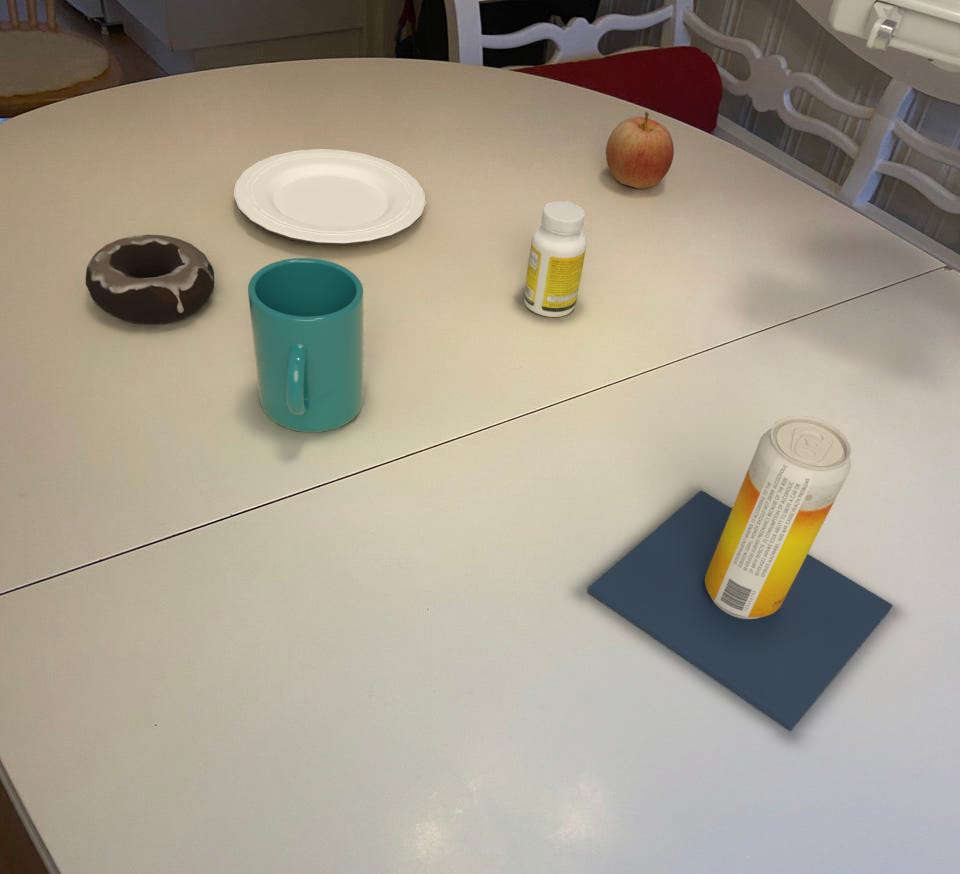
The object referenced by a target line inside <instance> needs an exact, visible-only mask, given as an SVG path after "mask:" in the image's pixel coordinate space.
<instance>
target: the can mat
mask: <svg viewBox="0 0 960 874" xmlns="http://www.w3.org/2000/svg"><path fill="white" fill-rule="evenodd" d="M732 508H733V507H730V506H729V505H727V504H725V503H724V502H722V501H721V500H719V499H717V498H715V497H713V496H712V495H710V494H709V493H707V492H705V491H704V490H701V489H700V491H699V492H698V493H696V494H695V495H694V496H692V497H691V498H690V499H689V500H688V501H687V502H686V503H684V505H682V506H681V507H680V508H679V509H677V510H676V511H675V512H674V513H673V514H672V515H671V516H670V517H668V518H667V519H666V520H665V521H664V522H663V523H661V524H660V525H659V526H658V527H657V528H656V529H654V530H653V531H652V532H651V533H650V534H649V535H648V536H647V537H645V538H644V539H643V540H642V541H641V542H639V543H638V544H637V545H636V546H634V548H632V549H631V550H630V551H629V552H628V553H627V554H626V555H624V556H623V557H621V559H620V560H619V561H618V562H616V563H615V564H614V565H613V566H611V568H609V569H608V570H607V571H606V572H605V573H604V574H603V575H601V576H600V577H599V578H598V579H597V580H595V581H594V582H593V583H592V584H591V585H590V586H588V588H587V594H589V595H590V596H592V597H594V598H595V599H596V600H598V601H600V602H601V603H603V604H604V605H606V606H607V607H608V608H609V609H611V610H612V611H614V612H616V613H617V614H619V615H620V616H621V617H623V618H624V619H626V620H627V621H629V622H630V623H631V624H633V625H635V626H636V627H638V628H639V629H641V630H642V631H644V632H645V633H646V634H648V635H649V636H650V637H652V638H654V639H655V640H657V642H659V643H661V644H662V645H664V646H666V648H668V649H670V650H671V651H672V652H674V653H676V654H677V655H679V656H680V657H682V658H683V659H684V660H686V661H688V662H689V663H691V664H692V665H693V666H695V667H696V668H697V669H699V670H701V671H702V672H704V673H705V674H707V675H708V676H710V677H711V678H713V679H714V680H715V681H717V682H718V683H720V684H721V685H723V686H724V687H726V688H727V689H728V690H730V691H731V692H733V693H734V694H736V695H737V696H739V697H740V698H742V699H743V700H744V701H746V702H747V703H749V704H750V705H752V706H753V707H755V708H756V709H758V710H759V711H761V712H762V713H764V714H765V715H767V716H768V717H770V718H771V719H772V720H774V721H775V722H777V723H778V724H781V726H783V727H784V728H786V729H787V730H789V731H792V730H793V729H794V727H796V725H797V724H798V722H800V721H801V719H802V717H803V716H804V715H805V714H806V713H807V712H808V710H809V709H810V708H811V707H812V706H813V704H814V703H815V702H816V700H818V698H819V697H820V696H821V695H822V693H823V692H825V690H826V689H827V687H828V686H829V685H830V684H831V683H832V681H833V680H834V679H835V677H836V676H837V675H839V673H840V671H842V669H843V668H844V667H845V665H846V664H847V663H848V662H849V660H851V658H852V657H853V656H854V654H855V653H856V652H857V651H858V649H860V647H861V646H862V645H863V643H864V642H866V640H867V639H868V638H869V636H870V635H871V634H872V632H874V630H875V629H876V628H877V626H878V625H879V624H880V623H881V622H882V620H883V619H885V617H886V615H887V614H888V613H889V612H890V611H891V609H892V608H893V604H892V603H890V602H888V601H886V600H885V599H884V598H882V597H881V596H879V595H877V594H875V593H874V592H872V591H870V590H869V589H867V588H866V587H863V586H862V585H860V584H859V583H857V582H856V581H854V580H852V579H851V578H849V577H847V576H845V575H844V574H842V573H840V572H839V571H837V570H835V569H834V568H833V567H830V566H828V565H827V564H825V563H824V562H822V561H821V560H819V559H817V558H815V557H813V556H812V555H810V554H809V553H808V554H807V556H806V558H805V560H804V562H803V564H802V566H801V568H800V570H799V572H798V574H797V575H796V577H795V579H794V581H793V583H792V585H791V587H790V589H789V591H788V593H787V595H786V597H785V599H784V601H783V603H782V605H781V606H780V608H779V609H778V610H777V611H776V612H774V613H772V614H770V615H768V616H764V617H760V618H756V619H742V618H737V617H734V616H732V615H729V614H727V613H726V612H724V611H723V610H721V609H720V608H719V607H718V606H717V605H716V604H715V603H714V602H713V600H712V598H711V596H710V595H709V593H708V591H707V588H706V585H705V576H706V573H707V570H708V568H709V565H710V563H711V560H712V558H713V555H714V553H715V550H716V548H717V545H718V543H719V541H720V538H721V536H722V533H723V531H724V528H725V526H726V523H727V521H728V518H729V516H730V513H731V511H732Z"/></svg>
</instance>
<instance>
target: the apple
mask: <svg viewBox="0 0 960 874" xmlns="http://www.w3.org/2000/svg"><path fill="white" fill-rule="evenodd" d="M649 115H650V113H649V111H645V112H644V116H635V117H629V118H627V119H624V120H623V121H621V122H620V123H618V124H617V125H616V126H615V127H614V129H613V130H612V131H611V133H610V135H609V137H608V140H607V143H606V147H605V159H606V164H607V167H608V170H609V171H610V173H611V175H612V176H613V177H614V179H615V180H616V181H618V182H619V183H620V184H622V185H624V186H629V187H632V188H635V189H647V188H651V187H654V186H655V185H657V184H658V183H660V182H661V181H662V180H663V179H664V177H666V175H667V173H668V172H669V171H670V168H671V166H672V164H673V160H674V154H675V149H674V148H675V147H674V146H675V145H674V142H673V138H672V135H671V133H670V131H669V129H667V128H666V127H665V126H664V125H663V124H661V123H660V122H658V121H657V120H654V119H651V118H649Z"/></svg>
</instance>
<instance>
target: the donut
mask: <svg viewBox="0 0 960 874" xmlns="http://www.w3.org/2000/svg"><path fill="white" fill-rule="evenodd" d="M85 285H86V286H85V287H86V288H87V290H88V292H89V295H90V297H91V299H92V300H93V301H94V303H95V304H96V305H97V306H98V307H99V308H101V309H102V310H103V311H104V312H105V313H107V314H109V315H111V316H113V317H115V318H117V319H120V320H122V321H126V322H131V323H135V324H149V325H156V324H165V323H172V322H175V321H178V320H181V319H185V318H187V317H190V316H191V315H193V314H195V313H197V312H198V311H199V310H200V309H201V308H203V306H204V305H206V304H207V303H208V302H209V300H210V298H211V296H212V294H213V292H214V289H215V271H214V267H213V265H212V264H211V262H210V260H209V259H208V257H207V256H206V254H205V253H204V252H203V251H201V250H200V249H199V248H197V247H196V246H195V245H193V244H192V243H190V242H188V241H186V240H183V239H182V238H181V239H180V238H177V237H173V236H169V235H168V236H167V235H161V234H139V235H131V236H128V237H123V238H120V239H117V240H115V241H111V242H110V243H107V244H106V245H104V246H103V247H101V248H100V249H99V250H97V251H96V252H95V253H94V254H93V256H92V257H91V259H90V260H89V262H88V263H87V267H86V271H85Z"/></svg>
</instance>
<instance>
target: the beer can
mask: <svg viewBox="0 0 960 874" xmlns="http://www.w3.org/2000/svg"><path fill="white" fill-rule="evenodd" d="M851 455H852V446H851V443H850V441H849V439H848V438H847V436H846V435H844V433H843V432H842V431H841V430H839V429H838V428H836V426H835V425H832V424H830V423H828V422H827V421H824V420H822V419H819V418H816V417H813V416H807V415H790V416H785V417H782V418H780V419H778V420H777V421H775V422H774V424H773V425H772V426H771V427H770V428H769V429H768V430H767V431H765V432H764V433H763V434H762V436H761V437H760V439H759V442H758V444H757V446H756V449H755V451H754V453H753V456H752V459H751V461H750V464H749V466H748V469H747V470H746V474H745V477H744V479H743V481H742V483H741V485H740V488H739V491H738V493H737V496H736V498H735V500H734V503H733V506H732V507H731V508H732V511H731V513H730V516H729V518H728V521H727V523H726V526H725V528H724V531H723V533H722V536H721V538H720V541H719V543H718V545H717V548H716V550H715V553H714V555H713V558H712V560H711V563H710V565H709V568H708V570H707V573H706V576H705V585H706V588H707V591H708V593H709V595H710V596H711V598H712V600H713V602H714V603H715V604H716V605H717V606H718V607H719V608H720V609H721V610H723V611H724V612H726V613H727V614H729V615H732V616H734V617H737V618H742V619H756V618H760V617H764V616H768V615H770V614H772V613H774V612H776V611H777V610H778V609H779V608H780V606H781V605H782V603H783V601H784V599H785V597H786V595H787V593H788V591H789V589H790V587H791V585H792V583H793V581H794V579H795V577H796V575H797V574H798V572H799V570H800V568H801V566H802V564H803V562H804V560H805V558H806V556H807V554H809V552H810V550H811V549H812V546H813V544H814V542H815V540H816V538H817V536H818V534H819V532H820V530H821V528H822V526H823V524H824V522H825V521H826V518H827V517H828V515H829V513H830V511H831V509H832V507H833V505H834V503H835V501H836V499H837V498H838V495H839V494H840V492H841V490H842V487H843V486H844V484H845V481H846V480H847V478H848V476H849V473H850V471H851V465H852V463H851Z"/></svg>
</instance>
